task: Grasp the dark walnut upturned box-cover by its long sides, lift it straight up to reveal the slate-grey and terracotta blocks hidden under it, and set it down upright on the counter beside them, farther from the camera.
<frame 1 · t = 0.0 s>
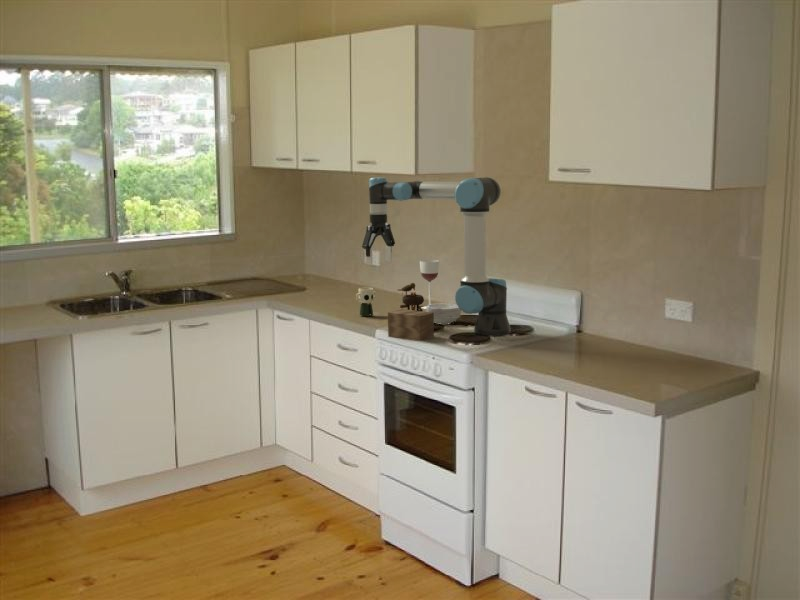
hand: (379, 262, 399), 28 cm above the worktop, fingers open, 13 cm apart
wineglass: (429, 307, 451), on the worktop
terracotta block: (404, 335, 382), on the worktop
slate block: (417, 337, 377), on the worktop
music box: (413, 327, 399), on the worktop
cover: (410, 336, 379), on the worktop
paper bowls: (443, 323, 409), on the worktop
character mug: (366, 316, 429), on the worktop
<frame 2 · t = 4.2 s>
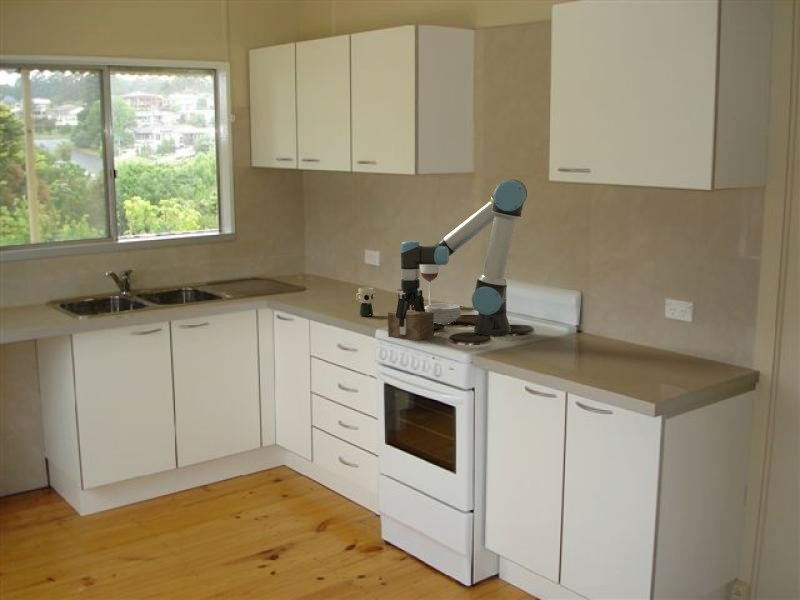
hand: (410, 332, 379), 2 cm above the worktop, fingers closed on cover, 10 cm apart
cover: (410, 336, 379), on the worktop, touching gripper
everything else where it was.
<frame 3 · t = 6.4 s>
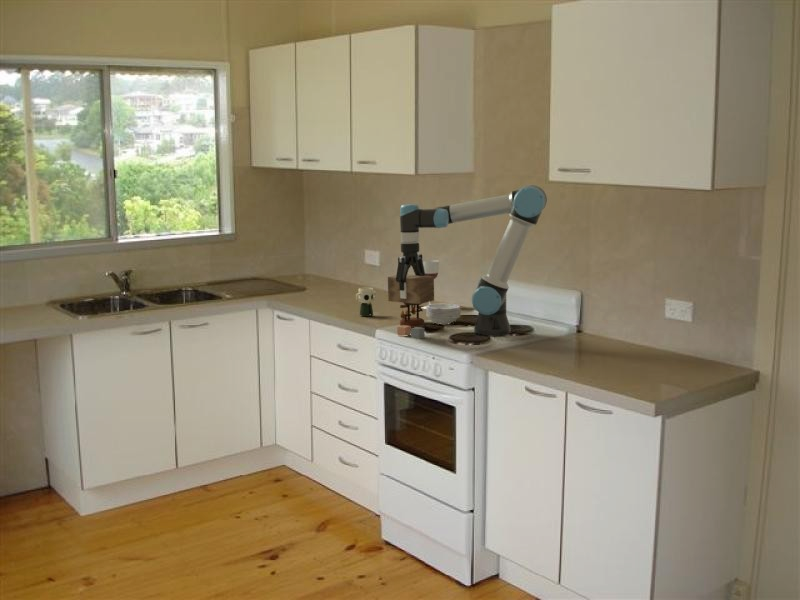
hand: (411, 296, 377), 17 cm above the worktop, fingers closed on cover, 10 cm apart
cover: (411, 300, 377), point 15 cm above the worktop, touching gripper
everything else where it was.
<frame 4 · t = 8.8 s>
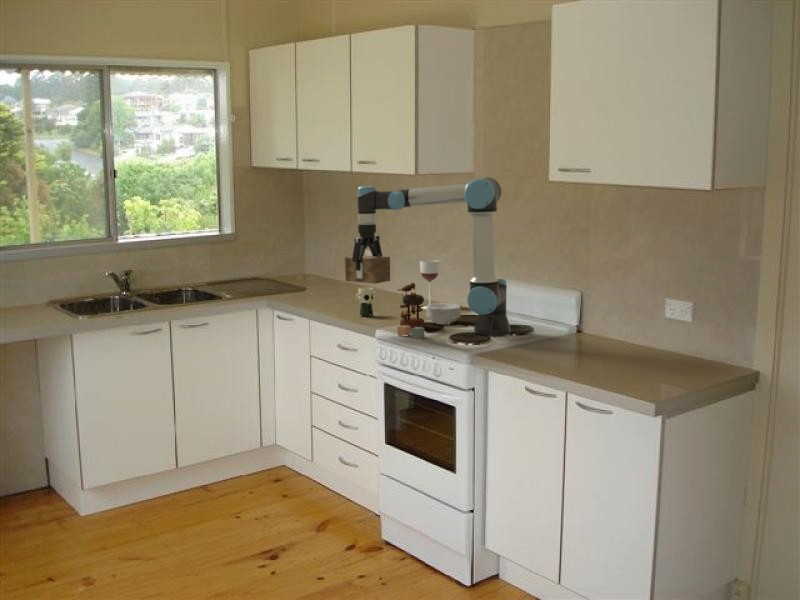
hand: (367, 276, 385), 24 cm above the worktop, fingers closed on cover, 10 cm apart
cover: (367, 280, 385), point 22 cm above the worktop, touching gripper
everything else where it was.
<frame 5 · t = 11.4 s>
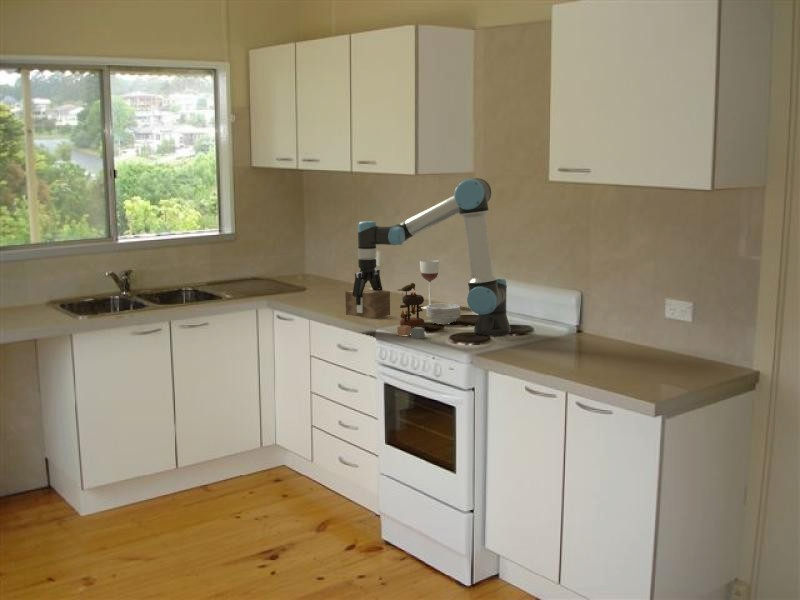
hand: (367, 310, 387), 9 cm above the worktop, fingers closed on cover, 10 cm apart
cover: (367, 314, 388), point 8 cm above the worktop, touching gripper
everything else where it was.
when the fingers open (3 cm above the worktop, at t = 13.7 s): cover drops 1 cm, on the worktop.
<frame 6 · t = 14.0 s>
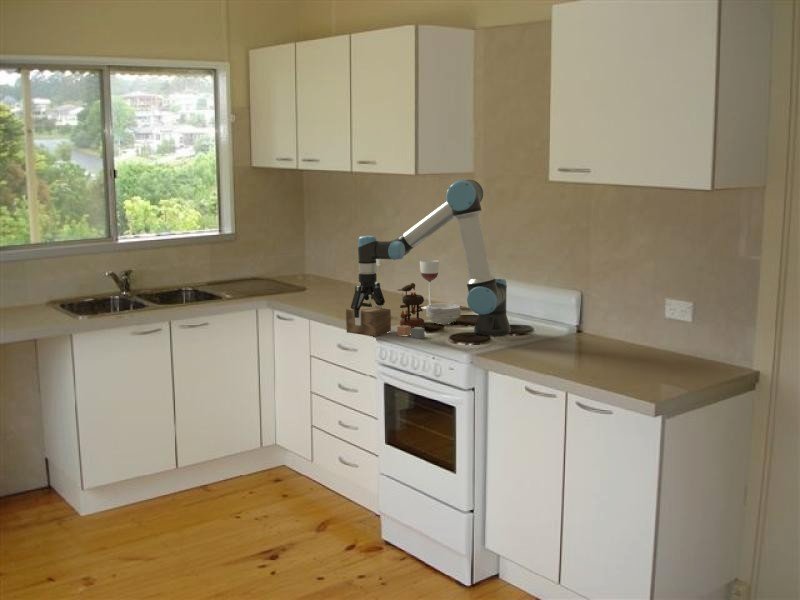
hand: (368, 322, 388), 4 cm above the worktop, fingers open, 13 cm apart
cover: (368, 332, 389), on the worktop
everything else where it was.
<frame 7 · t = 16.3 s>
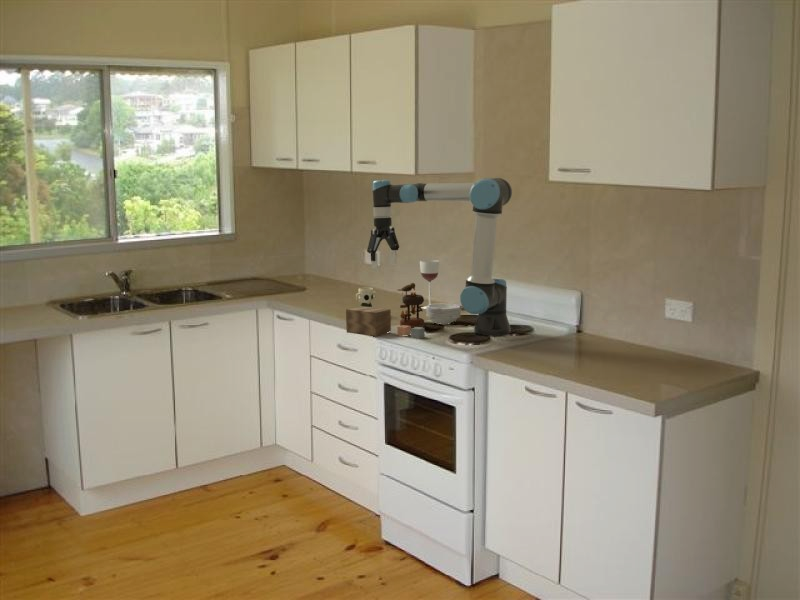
hand: (384, 267, 391), 27 cm above the worktop, fingers open, 13 cm apart
nothing on the worktop moved.
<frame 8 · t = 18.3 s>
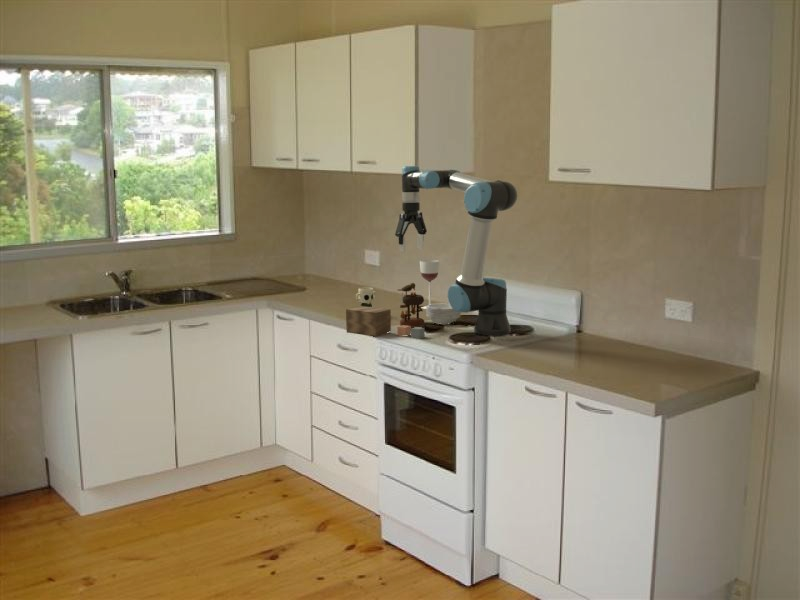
hand: (411, 250, 402), 33 cm above the worktop, fingers open, 13 cm apart
nothing on the worktop moved.
at the end: cover inside the target area (0.0 cm from its centre), on the worktop; cover tilted 0°; the gripper is holding nothing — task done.
